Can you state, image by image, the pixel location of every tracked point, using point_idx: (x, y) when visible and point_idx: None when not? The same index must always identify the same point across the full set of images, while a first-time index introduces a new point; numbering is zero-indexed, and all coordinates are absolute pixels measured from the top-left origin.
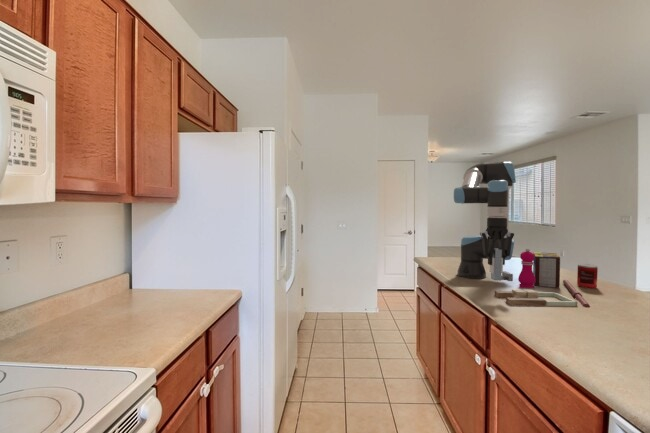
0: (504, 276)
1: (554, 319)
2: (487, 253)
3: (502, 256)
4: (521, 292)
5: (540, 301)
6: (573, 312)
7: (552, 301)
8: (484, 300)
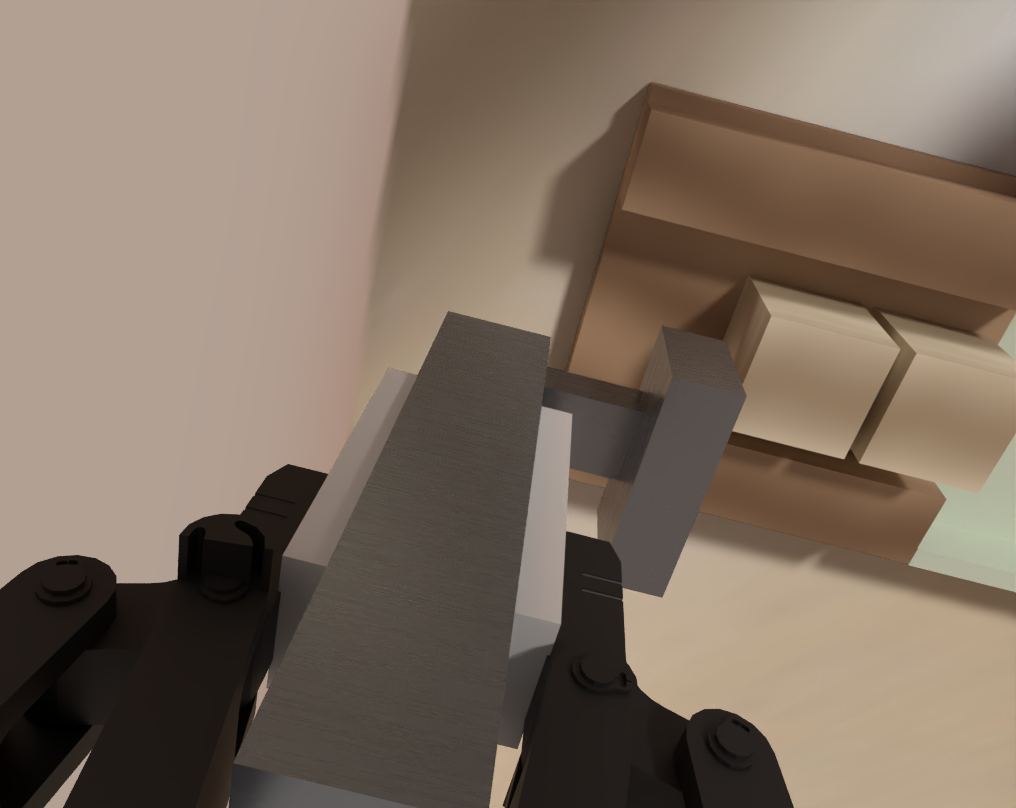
0: (636, 424)
1: (675, 694)
2: (61, 745)
3: (518, 763)
4: (779, 440)
5: (849, 542)
6: (1002, 636)
7: (965, 575)
8: (447, 168)
